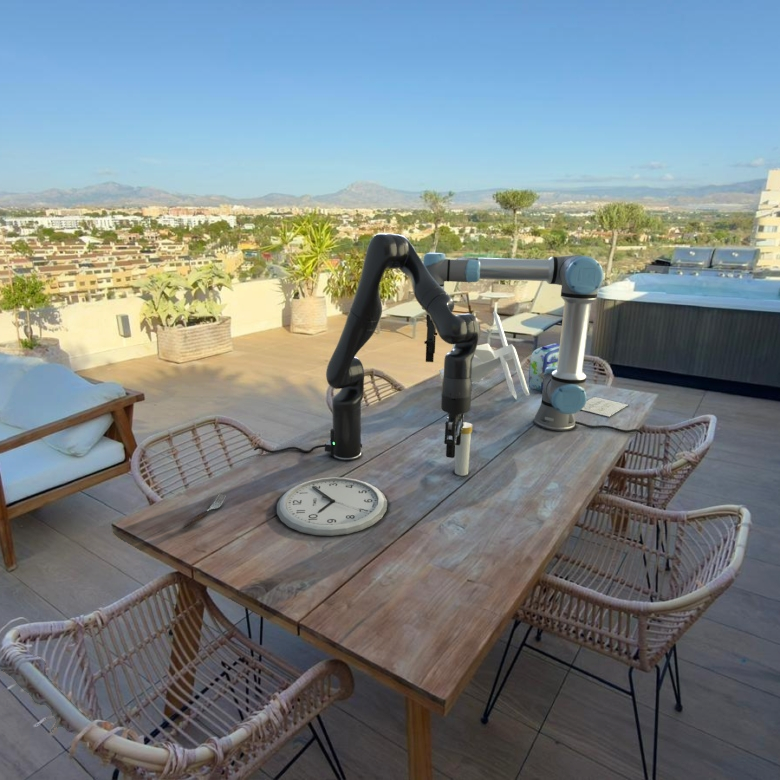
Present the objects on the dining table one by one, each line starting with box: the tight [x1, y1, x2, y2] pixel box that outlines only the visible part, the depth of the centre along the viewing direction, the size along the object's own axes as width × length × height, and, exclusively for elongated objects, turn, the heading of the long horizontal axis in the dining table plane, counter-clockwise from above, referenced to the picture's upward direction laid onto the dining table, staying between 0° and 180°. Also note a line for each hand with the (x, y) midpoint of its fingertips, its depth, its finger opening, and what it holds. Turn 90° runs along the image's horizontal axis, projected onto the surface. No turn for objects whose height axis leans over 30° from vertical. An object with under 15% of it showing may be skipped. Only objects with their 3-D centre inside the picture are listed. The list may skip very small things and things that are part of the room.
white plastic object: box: [438, 310, 531, 400], centre depth 245 cm, size 37×45×31 cm
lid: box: [461, 421, 474, 434], centre depth 159 cm, size 5×5×2 cm
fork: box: [182, 493, 227, 529], centre depth 136 cm, size 3×16×2 cm, turn 160°
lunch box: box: [528, 343, 560, 392], centre depth 249 cm, size 26×11×21 cm, turn 134°
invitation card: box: [580, 396, 629, 418], centre depth 226 cm, size 21×1×15 cm
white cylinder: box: [454, 433, 472, 477], centre depth 161 cm, size 4×4×16 cm
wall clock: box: [276, 476, 388, 537], centre depth 142 cm, size 30×2×30 cm
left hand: (453, 450), depth 138 cm, fingers open, 8 cm apart
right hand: (430, 357), depth 190 cm, fingers open, 13 cm apart
